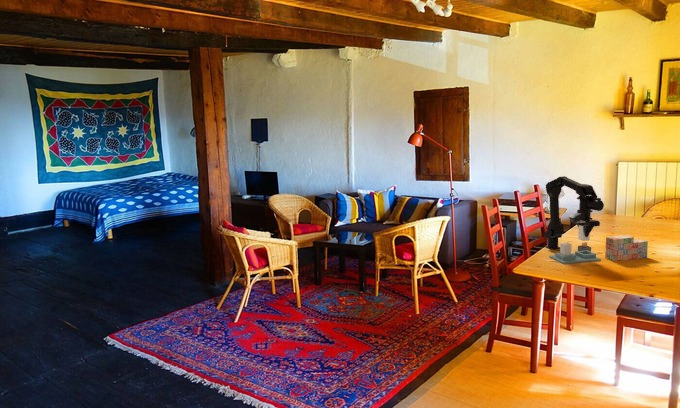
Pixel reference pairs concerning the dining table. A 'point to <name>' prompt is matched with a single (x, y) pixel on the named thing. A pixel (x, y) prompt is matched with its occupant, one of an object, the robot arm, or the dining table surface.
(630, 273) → the dining table surface
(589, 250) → the button housing
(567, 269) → the dining table surface
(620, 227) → the dining table surface
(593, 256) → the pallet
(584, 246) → the button
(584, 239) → the steel billet
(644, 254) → the stack of blocks
